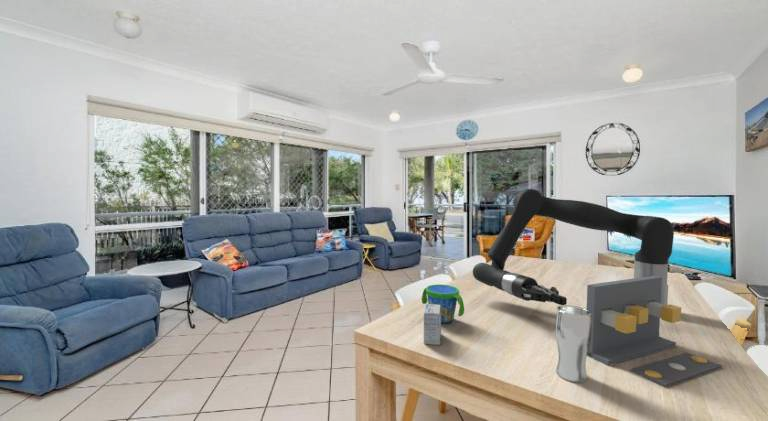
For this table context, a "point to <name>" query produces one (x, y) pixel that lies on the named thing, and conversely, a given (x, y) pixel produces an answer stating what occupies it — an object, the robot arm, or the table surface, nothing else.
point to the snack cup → (444, 300)
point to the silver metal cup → (573, 342)
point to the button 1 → (619, 321)
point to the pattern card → (675, 369)
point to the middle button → (637, 313)
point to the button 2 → (664, 311)
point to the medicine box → (432, 324)
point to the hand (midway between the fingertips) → (564, 301)
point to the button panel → (615, 296)
